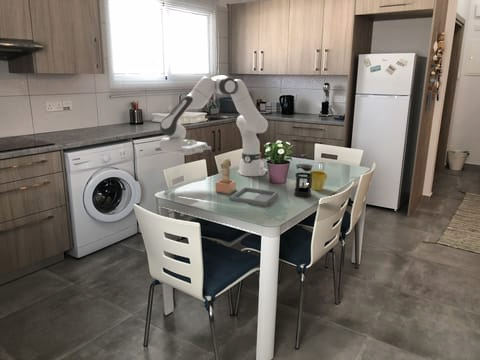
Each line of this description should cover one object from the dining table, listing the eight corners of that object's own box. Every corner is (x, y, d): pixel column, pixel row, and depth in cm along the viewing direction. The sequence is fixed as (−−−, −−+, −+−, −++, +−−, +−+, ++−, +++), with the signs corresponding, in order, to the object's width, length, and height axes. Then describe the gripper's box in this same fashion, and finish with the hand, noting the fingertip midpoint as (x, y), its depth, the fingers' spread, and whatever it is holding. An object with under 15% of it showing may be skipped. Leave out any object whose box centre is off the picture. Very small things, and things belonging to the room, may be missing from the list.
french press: (302, 199, 213) (305, 157, 207) (289, 195, 220) (291, 154, 214) (316, 195, 221) (319, 154, 215) (303, 191, 228) (305, 151, 222)
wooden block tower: (224, 189, 226) (224, 158, 221) (230, 190, 225) (230, 158, 220) (221, 190, 223) (221, 159, 218) (227, 191, 221) (227, 160, 216)
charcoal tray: (244, 191, 226) (244, 186, 225) (277, 196, 218) (278, 191, 217) (229, 201, 208) (229, 196, 207) (265, 206, 200) (265, 202, 200)
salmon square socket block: (222, 188, 229) (222, 178, 228) (235, 190, 226) (235, 180, 224) (215, 192, 222) (215, 182, 220) (229, 194, 219) (229, 184, 217)
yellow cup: (323, 186, 238) (324, 170, 236) (327, 191, 228) (329, 175, 226) (306, 186, 238) (307, 170, 235) (309, 191, 228) (311, 174, 225)
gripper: (175, 144, 218) (197, 146, 212) (194, 139, 236) (214, 141, 230) (175, 155, 219) (197, 158, 214) (194, 149, 237) (214, 152, 232)
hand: (206, 149), depth 222 cm, fingers open, 8 cm apart
